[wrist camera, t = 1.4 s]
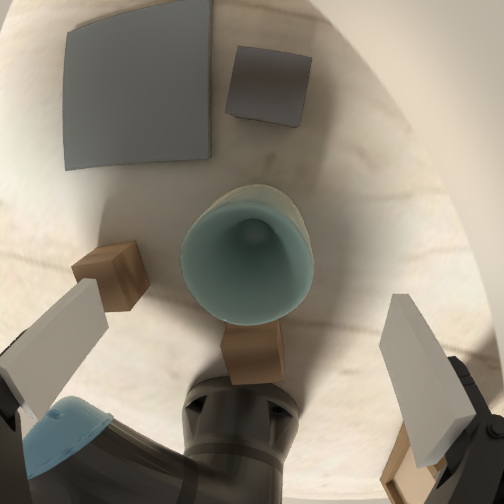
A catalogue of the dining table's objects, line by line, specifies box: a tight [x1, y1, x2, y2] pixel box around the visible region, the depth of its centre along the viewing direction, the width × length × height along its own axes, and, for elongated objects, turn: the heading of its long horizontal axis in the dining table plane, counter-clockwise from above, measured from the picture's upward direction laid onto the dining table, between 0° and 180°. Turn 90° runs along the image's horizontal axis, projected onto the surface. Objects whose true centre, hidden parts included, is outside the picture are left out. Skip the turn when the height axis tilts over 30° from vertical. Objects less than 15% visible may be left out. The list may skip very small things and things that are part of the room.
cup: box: [180, 184, 314, 326], centre depth 22 cm, size 8×8×10 cm
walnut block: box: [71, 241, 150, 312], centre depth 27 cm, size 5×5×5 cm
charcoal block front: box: [225, 46, 312, 128], centre depth 20 cm, size 5×5×5 cm
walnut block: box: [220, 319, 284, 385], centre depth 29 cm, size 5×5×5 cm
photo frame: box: [380, 422, 447, 504], centre depth 26 cm, size 15×22×25 cm
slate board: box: [63, 0, 212, 171], centre depth 22 cm, size 15×15×1 cm
